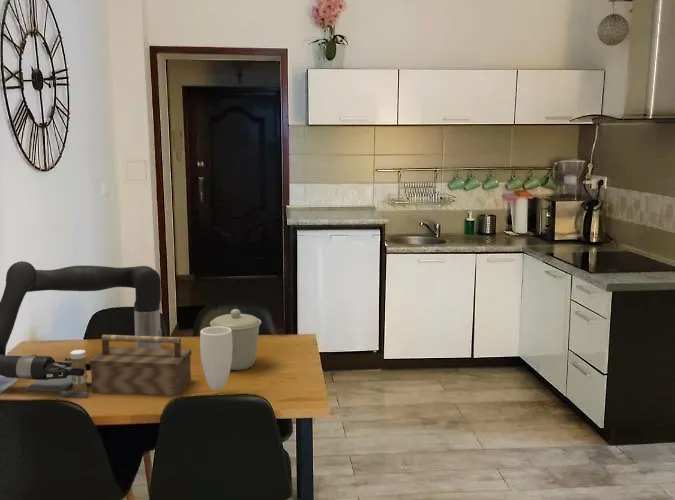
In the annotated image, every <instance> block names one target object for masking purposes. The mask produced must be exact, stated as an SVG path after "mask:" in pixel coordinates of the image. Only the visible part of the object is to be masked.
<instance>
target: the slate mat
mask: <svg viewBox="0 0 675 500" xmlns="http://www.w3.org/2000/svg"><path fill="white" fill-rule="evenodd" d="M86 377H87V378H88V375H87V374H86ZM71 382H72V376H70V377H68V376H67V378H65V379H49V380H36V381H34V382H33V383H31V384H30V385H28V386H27V387H25V391H36V392H37V391H40V392H59V391H60V390H62V389H63V388H64V387H66V386H67V385H68V384H70V383H71ZM71 390H73V386H72V387H71V388H70V389H69V390H68V391H71Z"/></svg>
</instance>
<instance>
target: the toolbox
mask: <svg viewBox="0 0 675 500" xmlns="http://www.w3.org/2000/svg"><path fill="white" fill-rule="evenodd" d="M181 340H182V339H181V337H179V336H162V337H155V336H135V335H125V334H123V335H122V334H102V335H101V346H102V347H101V349H102V351H100V352H99V353H98V354H96V355H95V356H94V357H92V358H90V360H89V362H88V363H89V365H90V366H91V370H90V374H91V375H90V376H91V381H87V389H91V392H92V393H101V394H103V393H104V394H122V393H123V394H127V395H146V394H148V395H151V396H154V395H155V396H170V395H174V396H175V397H176V396H177V397H179V395H180V394H181V393H182V392H183V391H184V389H185V388H186V387H187V386H186V385H188V384H189V383H190V382H191V381H190V380H191V379H192V378H191V376H192V374H191V355H192V349H181V348H182V344H181V343H182V342H181ZM110 342H121V343H122V342H126V343H127V342H128V343H135V342H149V343H162V344H174V345H173V346H174V347H173V348H162V349H154V348H136V347H123V346H121V347H120V346H110ZM189 381H190V382H189ZM188 382H189V383H188ZM187 383H188V384H187ZM72 386H73V383H72V382H71V383H70V384H68V385H67V386H66V387H64V388H63V389H62V390H60V391H57V394H58V395H57V396H58V397H59V398H78V399H79V398H83V399H86V398H88V391H87V392H72V391H73V390H72V391H71V390H70V391H68V390H69V389H70V388H71V387H72ZM185 386H186V387H185ZM184 387H185V388H184ZM181 391H182V392H181ZM148 395H147V396H148Z"/></svg>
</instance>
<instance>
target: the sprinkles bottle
mask: <svg viewBox="0 0 675 500" xmlns="http://www.w3.org/2000/svg"><path fill="white" fill-rule="evenodd" d="M69 355H70V356H69V358H70V359H71V366H72V367H71V370H72V368H81V369H84V375H83V376H72V383H73V388H72V392H87V393H88V388H87V382H88V381H87V379H88V376H87V377H86V375H87V371H86V363H87V361H86V356H87V354H86V350H84V349H74V350H72V351H70V353H69Z"/></svg>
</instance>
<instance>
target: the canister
mask: <svg viewBox="0 0 675 500" xmlns="http://www.w3.org/2000/svg"><path fill="white" fill-rule="evenodd" d="M261 324H262V320H261V319H260V318H258V317H256V316H255V315H252V314H247V313H242V312H241V310H240V309H238V308H234V309H231V310H230V313H227V314H222V315H219V316H217V317H215V318H214V319H212V320H211V321H210V322H209V325H210V327H213V326H223V327H228V328H230V329H231V330H232V343H233V350H232V363H231V368H230V371H232V370H237V371H243V370H242V369H244V370H247V369H249V367H250V368H251V367H252V366H253V365H254V364H255V361H256V358H257V351H258V350H257V349H258V343H259V342H258V341H259V330H260V325H261Z"/></svg>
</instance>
